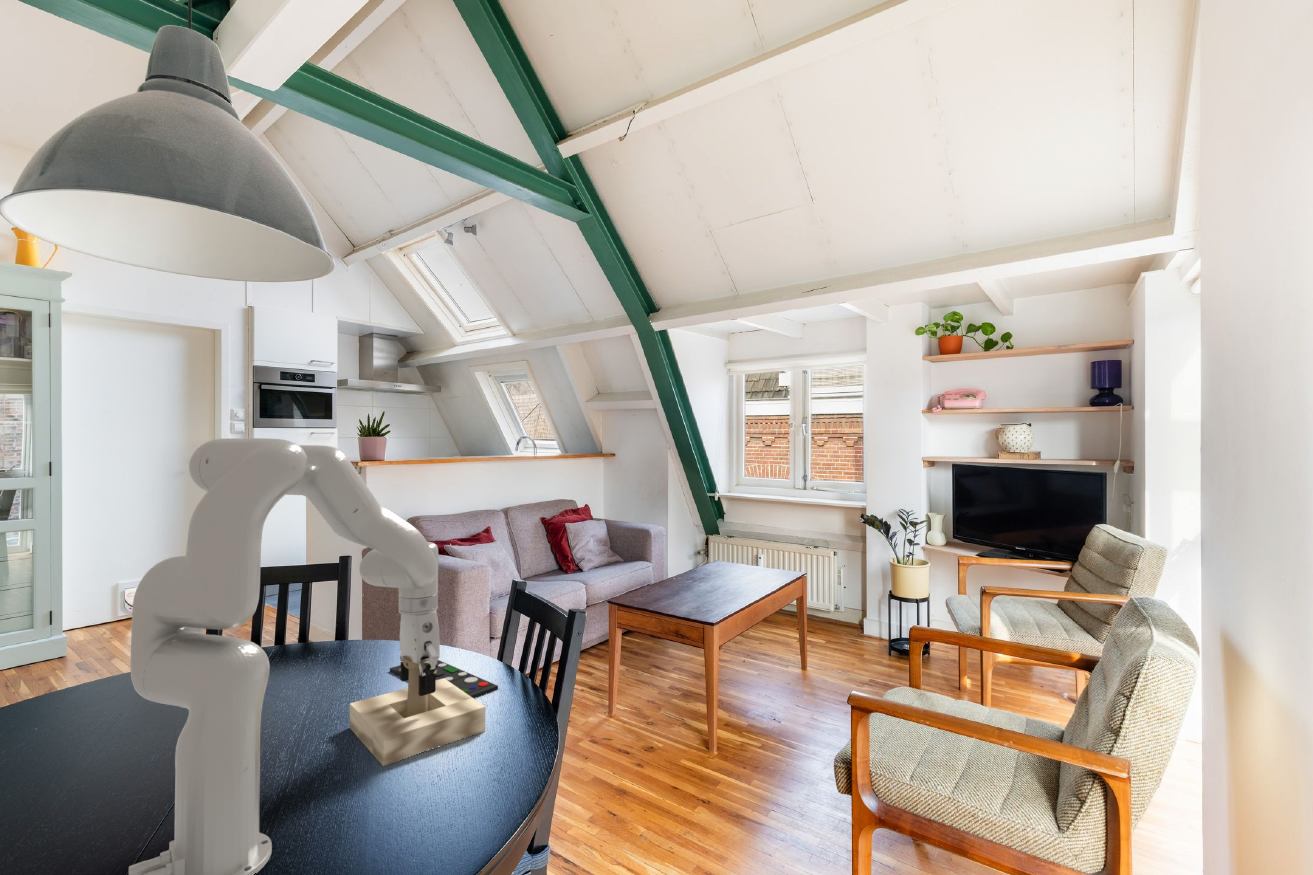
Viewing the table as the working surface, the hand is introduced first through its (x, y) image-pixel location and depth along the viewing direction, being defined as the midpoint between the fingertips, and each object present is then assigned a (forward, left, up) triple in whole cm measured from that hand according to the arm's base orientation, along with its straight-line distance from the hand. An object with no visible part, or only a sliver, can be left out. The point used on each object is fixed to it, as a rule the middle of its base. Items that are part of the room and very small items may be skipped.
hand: (417, 686), depth 124 cm
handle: (0, 0, -9) cm, 9 cm away
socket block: (0, 0, -9) cm, 9 cm away
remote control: (+14, +22, -10) cm, 28 cm away
